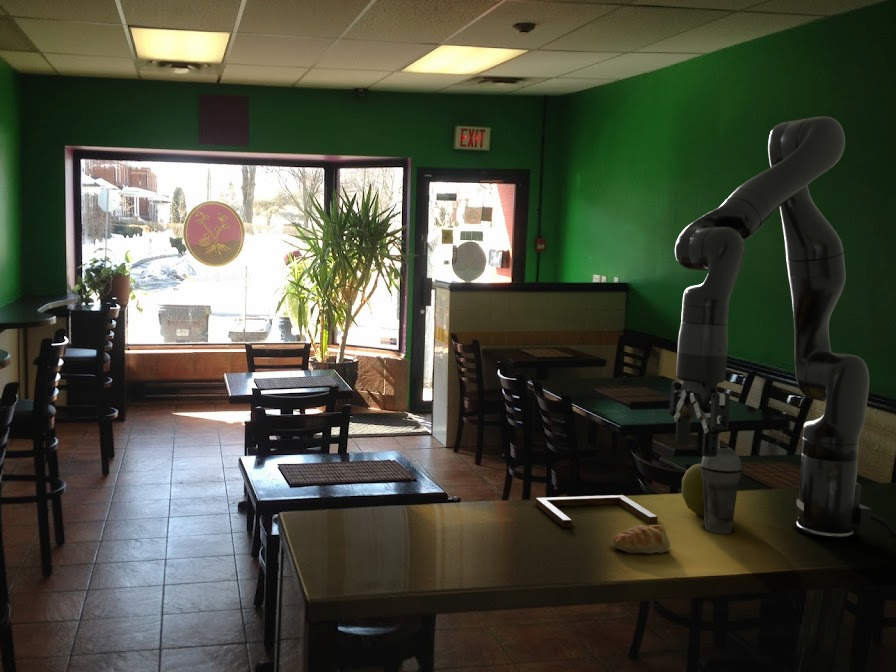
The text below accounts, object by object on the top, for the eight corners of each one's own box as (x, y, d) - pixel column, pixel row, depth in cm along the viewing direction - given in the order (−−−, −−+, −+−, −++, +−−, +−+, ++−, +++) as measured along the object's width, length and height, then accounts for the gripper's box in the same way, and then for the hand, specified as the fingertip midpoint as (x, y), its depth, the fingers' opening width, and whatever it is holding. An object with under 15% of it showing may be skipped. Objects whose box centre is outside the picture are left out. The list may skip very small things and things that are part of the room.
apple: (735, 524, 168) (739, 467, 167) (681, 519, 170) (684, 462, 169) (730, 509, 177) (733, 455, 176) (679, 504, 180) (682, 451, 179)
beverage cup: (742, 537, 160) (748, 427, 159) (700, 533, 162) (705, 424, 160) (735, 525, 167) (740, 419, 166) (694, 521, 169) (699, 417, 167)
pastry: (625, 557, 148) (626, 534, 148) (603, 544, 155) (604, 523, 155) (673, 552, 151) (674, 530, 151) (649, 540, 158) (650, 518, 158)
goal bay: (622, 501, 181) (623, 494, 181) (657, 523, 167) (657, 516, 167) (535, 504, 178) (535, 497, 178) (563, 527, 164) (563, 520, 164)
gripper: (748, 356, 137) (741, 460, 138) (700, 346, 151) (694, 441, 152) (703, 355, 136) (696, 460, 137) (659, 345, 150) (653, 441, 151)
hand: (695, 450), depth 145 cm, fingers open, 8 cm apart
